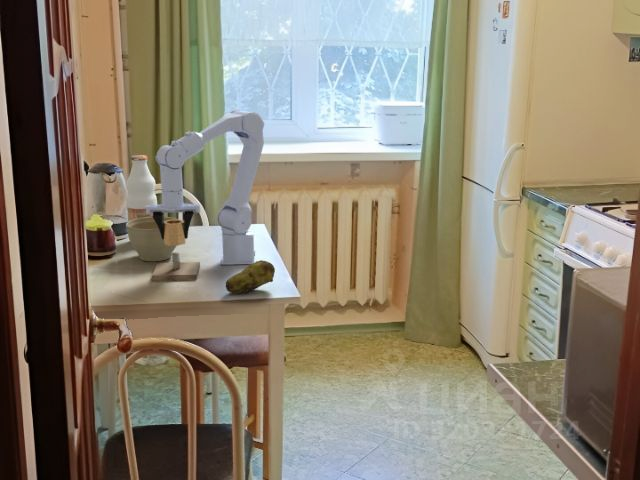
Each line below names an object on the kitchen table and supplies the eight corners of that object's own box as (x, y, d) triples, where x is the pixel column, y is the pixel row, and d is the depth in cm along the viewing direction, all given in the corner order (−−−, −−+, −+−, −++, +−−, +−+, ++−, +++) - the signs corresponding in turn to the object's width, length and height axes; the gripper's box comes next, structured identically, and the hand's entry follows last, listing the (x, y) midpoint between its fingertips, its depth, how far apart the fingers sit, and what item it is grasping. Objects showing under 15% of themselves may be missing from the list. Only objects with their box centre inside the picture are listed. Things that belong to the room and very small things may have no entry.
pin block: (200, 266, 227) (199, 246, 225) (196, 279, 215) (195, 258, 214) (158, 268, 226) (156, 247, 225) (152, 280, 215) (150, 259, 213)
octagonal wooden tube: (186, 240, 221) (185, 219, 220) (184, 245, 216) (183, 224, 214) (166, 240, 221) (164, 219, 219) (163, 245, 215) (162, 224, 214)
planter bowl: (166, 267, 227) (164, 230, 224) (118, 262, 232) (115, 226, 229) (192, 252, 241) (191, 218, 239) (146, 248, 246) (144, 214, 244)
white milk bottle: (123, 243, 252) (117, 157, 244) (143, 237, 260) (137, 153, 252) (146, 247, 247) (140, 159, 240) (165, 240, 255) (160, 155, 248)
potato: (226, 287, 209) (225, 258, 207) (274, 285, 210) (274, 256, 208) (225, 297, 201) (224, 267, 199) (276, 295, 202) (275, 266, 200)
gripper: (143, 193, 210) (146, 242, 214) (197, 192, 211) (200, 241, 215) (146, 188, 217) (149, 235, 221) (199, 187, 218) (202, 234, 221)
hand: (174, 237), depth 218 cm, fingers closed on octagonal wooden tube, 6 cm apart
